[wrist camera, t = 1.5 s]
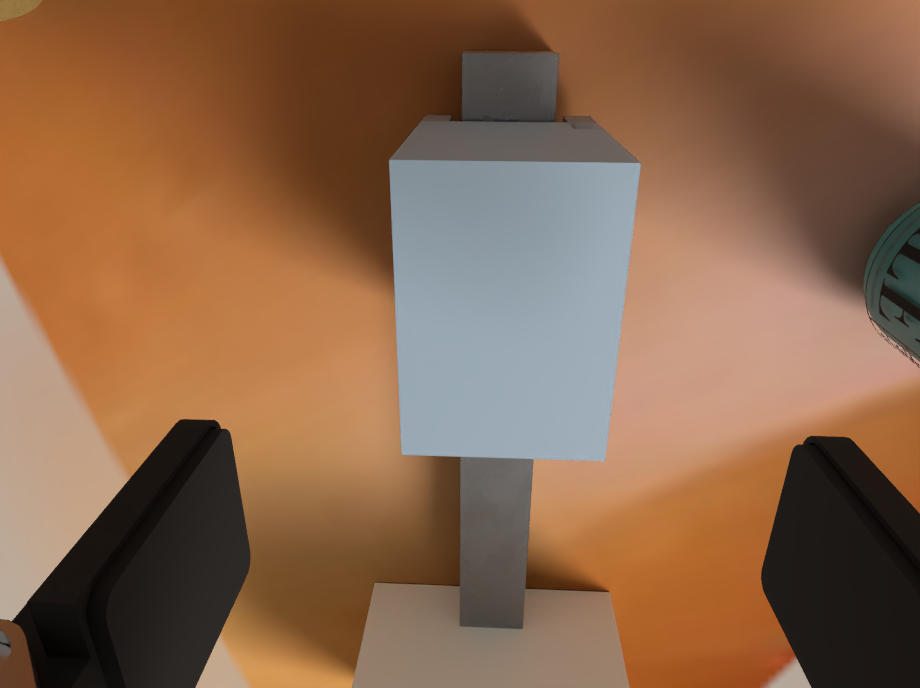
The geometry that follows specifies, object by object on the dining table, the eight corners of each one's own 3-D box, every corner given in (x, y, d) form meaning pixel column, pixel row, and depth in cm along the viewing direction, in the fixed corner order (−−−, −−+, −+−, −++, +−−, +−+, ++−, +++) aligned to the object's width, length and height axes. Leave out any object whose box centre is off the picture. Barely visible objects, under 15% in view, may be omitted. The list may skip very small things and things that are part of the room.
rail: (465, 50, 23) (462, 52, 20) (552, 50, 22) (559, 53, 20) (462, 586, 33) (459, 626, 31) (520, 588, 33) (522, 629, 31)
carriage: (426, 114, 22) (388, 160, 15) (589, 116, 22) (641, 163, 14) (430, 326, 26) (401, 454, 18) (571, 330, 26) (604, 461, 18)
